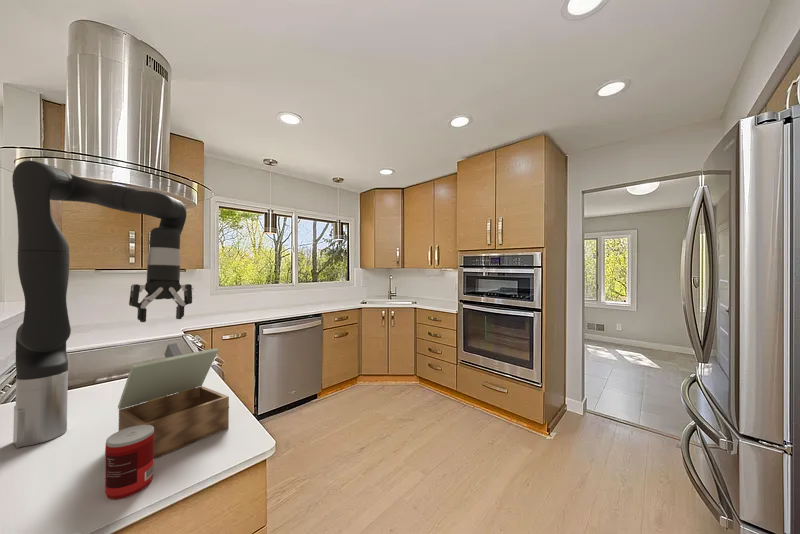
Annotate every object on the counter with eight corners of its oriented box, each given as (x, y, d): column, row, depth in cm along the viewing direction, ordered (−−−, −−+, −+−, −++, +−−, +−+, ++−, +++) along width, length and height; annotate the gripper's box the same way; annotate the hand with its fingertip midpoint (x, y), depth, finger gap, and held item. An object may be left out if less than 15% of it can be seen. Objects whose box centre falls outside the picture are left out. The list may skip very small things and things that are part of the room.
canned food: (148, 469, 69) (149, 420, 69) (157, 485, 63) (158, 432, 64) (101, 488, 63) (102, 434, 63) (107, 506, 58) (108, 448, 58)
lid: (133, 367, 74) (126, 350, 77) (118, 409, 79) (113, 391, 82) (218, 350, 91) (210, 336, 94) (201, 385, 96) (194, 371, 99)
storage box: (141, 465, 70) (142, 426, 70) (118, 444, 79) (118, 410, 79) (228, 427, 87) (228, 396, 87) (201, 414, 96) (201, 385, 96)
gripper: (137, 262, 79) (134, 324, 78) (197, 265, 91) (195, 319, 90) (127, 263, 83) (124, 322, 82) (186, 265, 95) (184, 317, 94)
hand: (161, 320), depth 86 cm, fingers open, 8 cm apart
